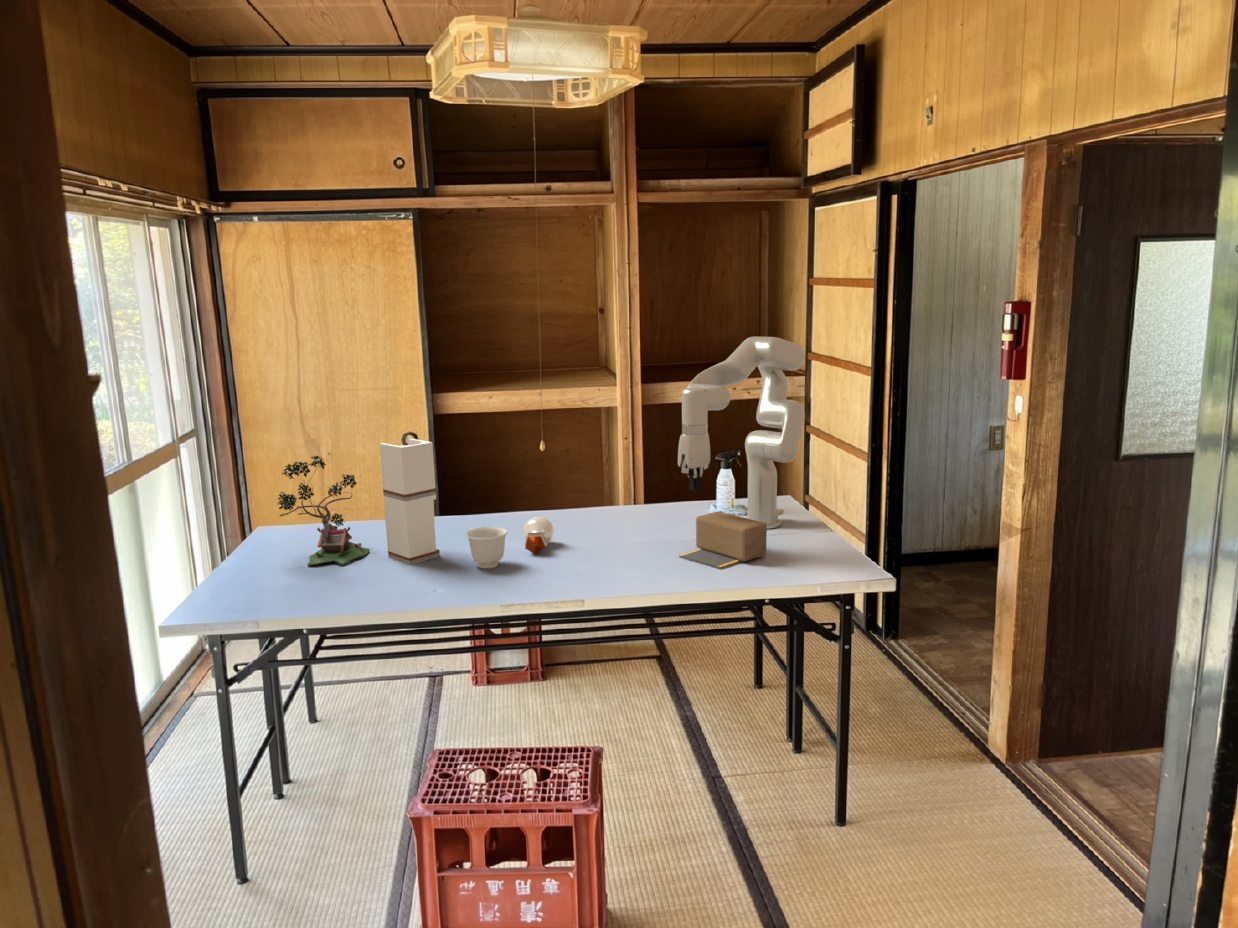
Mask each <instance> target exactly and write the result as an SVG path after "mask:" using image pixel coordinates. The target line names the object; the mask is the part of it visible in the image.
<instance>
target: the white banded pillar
mask: <svg viewBox="0 0 1238 928" xmlns="http://www.w3.org/2000/svg"><path fill="white" fill-rule="evenodd" d="M433 445H434V444H433V442H432V441H428V440H423V439H422V440H421V439H415V438H410V437H409V438H407V445H397V444H396V445H394V444H390V443H384V442H380V443H379V453H380V465H381V478H382V479H381V480H382V491H383V493H382V494H383V503H384V504H383V505H384V516H385V518H384V519H385V529H386V532H385V533H386V542H387V543H386V545H387V557H388V558H389V559H392V560H394V561H396V562H397V561H398V562H401V563H403V564H406V565H410V566H411V565H415V564H418V563H422V562H424V561H428V560H431V559H435V558H438V557H441V554H440V553H441V552H440V549H438V548H437V541H436V527H435V524H436V523H435V512H434V511H435V510H434V500H437V493H436V478H435V476H436V475H435V473H436V472H435V461H434V458H435V457H434V446H433Z"/></svg>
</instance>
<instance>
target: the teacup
mask: <svg viewBox="0 0 1238 928" xmlns="http://www.w3.org/2000/svg"><path fill="white" fill-rule="evenodd" d="M507 534H508V530H507V529H506V528H503V527H499V526H498V527H497V526H485V527H484V526H483V527H479V528H478V527H477V528H473V527H471V528H469V529H468V530H467V532H466V533H465V536H466V537H467V538H468V542H469V547H470V553H471V556H472V559H473V560H474V561H475V562H476V563H478V568H480V569H494V568H496V567H498V566H499V562H500V561H501V560H502V559H503V557H504V552H505V546H506V545H505V544H506V543H505V542H506V536H507Z"/></svg>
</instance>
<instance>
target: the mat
mask: <svg viewBox="0 0 1238 928" xmlns="http://www.w3.org/2000/svg"><path fill="white" fill-rule="evenodd" d="M678 556H679V558H681V559H684V560H688V561H691V562H694V563H698V564H700V565H704V566H708V567H711V568H715V569H718V570H722V568H723V569H725V568H727V567H731V566H734V565H737V564H739V563H743V562H744V561H741V560H738V559H735V558H731V557H728V556H724V555H721V554H718V553H714V552H711V551H708V550H704V549H701V548H697V549H694V550H691V551H689V552H686V553H682V554H679V555H678Z"/></svg>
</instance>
